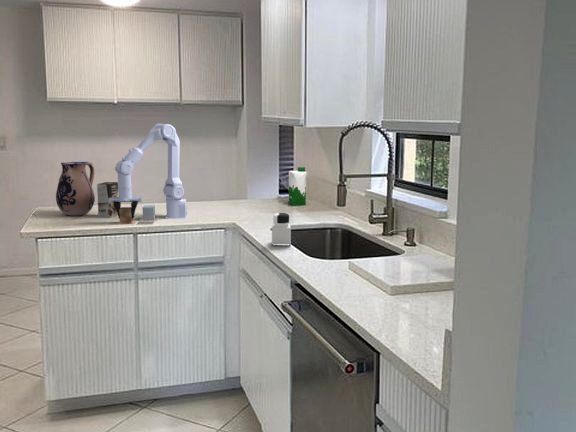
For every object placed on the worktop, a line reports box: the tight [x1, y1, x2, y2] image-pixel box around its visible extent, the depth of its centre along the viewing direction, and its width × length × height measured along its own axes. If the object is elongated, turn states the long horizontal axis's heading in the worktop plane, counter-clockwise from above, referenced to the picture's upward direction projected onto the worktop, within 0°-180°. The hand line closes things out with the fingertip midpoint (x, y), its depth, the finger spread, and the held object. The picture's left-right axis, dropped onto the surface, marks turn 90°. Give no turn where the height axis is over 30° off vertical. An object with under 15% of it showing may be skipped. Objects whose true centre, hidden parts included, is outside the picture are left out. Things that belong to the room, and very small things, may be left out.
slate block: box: [142, 204, 156, 220], centre depth 272 cm, size 5×5×6 cm
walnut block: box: [119, 206, 134, 223], centre depth 264 cm, size 5×5×6 cm
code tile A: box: [115, 220, 138, 226], centre depth 265 cm, size 8×8×1 cm
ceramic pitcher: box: [55, 161, 96, 217], centre depth 285 cm, size 18×21×25 cm
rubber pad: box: [135, 220, 155, 226], centre depth 265 cm, size 7×7×1 cm
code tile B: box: [139, 217, 159, 222], centre depth 273 cm, size 8×8×1 cm
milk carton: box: [288, 166, 308, 207], centre depth 316 cm, size 9×9×20 cm
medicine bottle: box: [271, 212, 292, 245], centre depth 227 cm, size 7×7×12 cm
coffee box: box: [96, 181, 119, 219], centre depth 279 cm, size 9×6×16 cm
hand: (126, 218), depth 265 cm, fingers closed on walnut block, 5 cm apart
